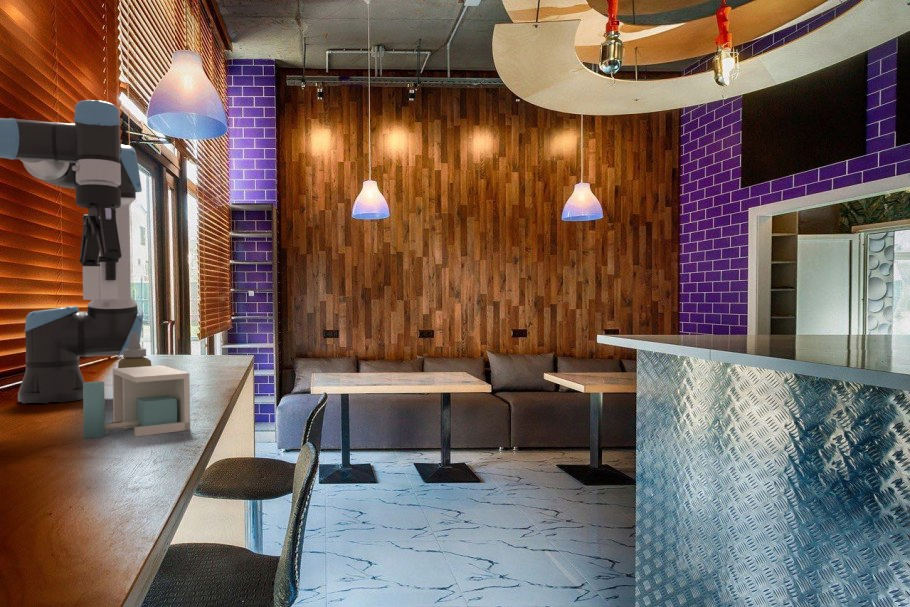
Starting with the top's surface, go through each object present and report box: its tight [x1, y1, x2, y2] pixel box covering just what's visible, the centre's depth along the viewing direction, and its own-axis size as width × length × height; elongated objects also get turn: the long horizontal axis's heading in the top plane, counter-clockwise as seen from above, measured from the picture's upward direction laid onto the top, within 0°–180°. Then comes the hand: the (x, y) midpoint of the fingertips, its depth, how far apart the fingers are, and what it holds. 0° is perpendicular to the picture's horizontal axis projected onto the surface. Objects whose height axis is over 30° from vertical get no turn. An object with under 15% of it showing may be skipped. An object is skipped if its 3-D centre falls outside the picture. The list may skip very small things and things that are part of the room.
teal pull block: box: [82, 380, 177, 439], centre depth 133 cm, size 6×16×10 cm, turn 127°
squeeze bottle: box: [117, 333, 152, 368], centre depth 152 cm, size 8×8×18 cm
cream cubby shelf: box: [112, 364, 191, 437], centre depth 139 cm, size 19×10×11 cm, turn 37°
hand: (100, 299), depth 130 cm, fingers open, 13 cm apart
